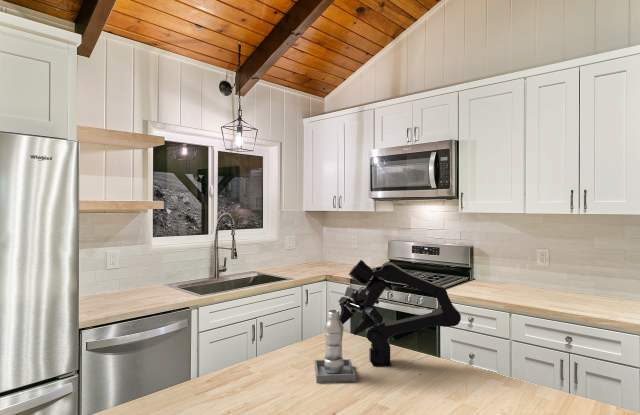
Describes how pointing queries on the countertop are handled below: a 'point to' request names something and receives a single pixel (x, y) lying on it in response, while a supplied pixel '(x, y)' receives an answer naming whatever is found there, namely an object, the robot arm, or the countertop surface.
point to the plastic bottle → (333, 343)
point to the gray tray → (325, 377)
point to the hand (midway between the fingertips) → (345, 330)
